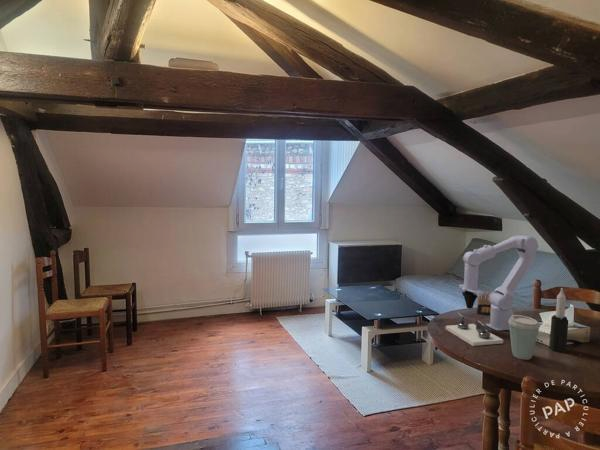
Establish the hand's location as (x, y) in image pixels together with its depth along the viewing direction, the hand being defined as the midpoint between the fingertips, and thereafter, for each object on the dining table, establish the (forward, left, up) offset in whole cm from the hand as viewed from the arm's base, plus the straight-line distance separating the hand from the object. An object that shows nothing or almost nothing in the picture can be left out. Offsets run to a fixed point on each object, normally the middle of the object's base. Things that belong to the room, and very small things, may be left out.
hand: (469, 308), depth 188 cm
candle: (-20, +29, -10) cm, 37 cm away
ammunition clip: (-22, -16, -10) cm, 29 cm away
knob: (+4, 0, -8) cm, 9 cm away
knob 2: (+2, +12, -8) cm, 15 cm away
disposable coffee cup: (-1, +32, -10) cm, 33 cm away
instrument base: (+4, +9, -9) cm, 14 cm away
